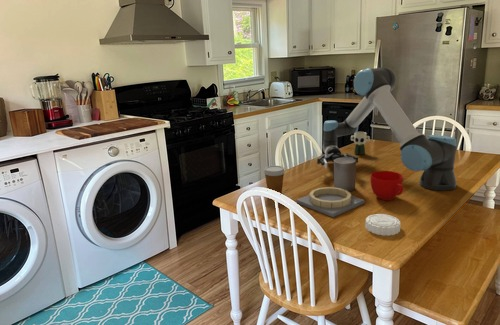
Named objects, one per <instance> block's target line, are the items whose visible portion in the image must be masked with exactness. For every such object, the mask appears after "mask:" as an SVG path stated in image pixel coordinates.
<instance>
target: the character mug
mask: <svg viewBox="0 0 500 325" xmlns="http://www.w3.org/2000/svg"><path fill="white" fill-rule="evenodd" d="M367 134H368V133H367V132H366V131H365V132H364V131H357V132H356V133H353V134H351V136H350V141H353V142H354V145H355V146H354V154H355V155H365V153H366V148H365V145H366V143H369V142H370V141H371V140H370V138H371V137H370V136H369V135H367Z"/></svg>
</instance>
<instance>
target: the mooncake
mask: <svg viewBox="0 0 500 325" xmlns="http://www.w3.org/2000/svg"><path fill="white" fill-rule="evenodd" d="M364 226H365V229H366V230H367V231H368V232H369V233H370V232H371V233H372V234H375V235H379V236H380V235H381V236H383V237H385V236H387V237H388V236H395V235H397V234H399V233H400V232H401V221H400V219H398V217H395V216H393V215H389V214H386V213H376V214H370V215H368V216H367V217H366V218H365V225H364Z"/></svg>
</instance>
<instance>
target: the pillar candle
mask: <svg viewBox="0 0 500 325" xmlns="http://www.w3.org/2000/svg"><path fill="white" fill-rule="evenodd" d="M356 165H357V163H356V160H355V159H353V158H347V157H343V158H337V159H335V160H334V162H333V187H334V188H341V189H344V190H347V191H348V192H349V193H351V192H353V191H355V190H356V171H357V170H356Z"/></svg>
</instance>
